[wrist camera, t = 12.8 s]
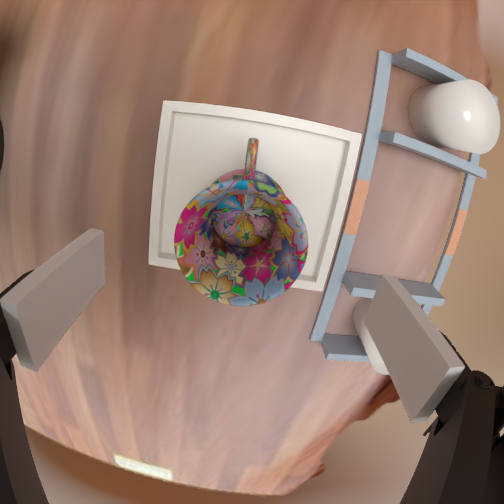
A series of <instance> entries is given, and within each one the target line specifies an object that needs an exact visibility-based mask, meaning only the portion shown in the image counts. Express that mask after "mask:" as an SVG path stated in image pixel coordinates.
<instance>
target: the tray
mask: <svg viewBox="0 0 504 504" xmlns="http://www.w3.org/2000/svg"><path fill="white" fill-rule="evenodd" d="M361 136H362V134H359V133H355V132H352V131H348V130H344V129H341V128H337V127H333V126H329V125H325V124H321V123H316V122H312V121H308V120H303V119H298V118H293V117H289V116H283V115H278V114H273V113H267V112H261V111H255V110H249V109H242V108H235V107H228V106H220V105H211V104H202V103H191V102H179V101H163V108H162V114H161V121H160V128H159V135H158V143H157V151H156V160H155V169H154V180H153V191H152V204H151V219H150V237H149V265H155V266H161V267H166V268H172V269H178V270H181V269H180V267H179V265H178V262H177V259H176V255H175V249H174V234H175V229H176V225H177V222H178V219H179V217H180V215H181V213H182V211H183V210H184V208H185V207H186V205H187V204H188V203H189V202H190V201H191V200H192V199H193V198H194V197H195V196H196V195H197V194H198V193H200V192H201V191H203V190H204V189H206V188H208V187H210V186H211V184H212V183H213V182H214V181H215V180H216V179H217V178H219V177H220V176H222V175H224V174H226V173H228V172H230V171H234V170H239V169H245V161H246V153H247V146H248V140H249V138H256V139H258V140H259V144H258V153H257V161H256V169H255V170H256V171H259V172H262V173H264V174H266V175H268V176H269V177H271V178H272V179H273V180H275V181H276V182H277V183H278V185H279V186H280V187H281V189H282V190H283V192H284V194H285V196H286V197H287V198H288V199H289V200H290V201H291V202H292V203H293V204H294V205H295V206H296V208H297V209H298V211H299V212H300V214H301V216H302V218H303V220H304V223H305V226H306V229H307V234H308V254H307V258H306V262H305V265H304V267H303V269H302V271H301V273H300V275H299V276H298V278H297V279H296V281H295V282H294V283H293V284H292V285H291V286H290V287H293V288H300V289H307V290H314V291H323V288H324V285H325V281H326V278H327V275H328V271H329V268H330V264H331V261H332V257H333V254H334V250H335V246H336V243H337V239H338V235H339V232H340V228H341V224H342V220H343V216H344V212H345V208H346V204H347V200H348V196H349V192H350V188H351V183H352V179H353V174H354V170H355V165H356V161H357V156H358V151H359V146H360V141H361Z"/></svg>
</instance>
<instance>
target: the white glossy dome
mask: <svg viewBox="0 0 504 504" xmlns="http://www.w3.org/2000/svg"><path fill="white" fill-rule="evenodd" d="M408 116H409V121H410V124H411V127H412V129H413V131H414V132H415V134H416V135H417V136H418V137H419V138H420V139H421V140H422V141H423V142H425V143H426V144H429V145H432V146H438V147H444V148H450V149H456V150H461V151H466V152H471V153H476V154H483V153H486V152H488V151H490V150H491V149H492V148H493V147H494V145H495V144H496V142H497V139H498V136H499V132H500V116H499V111H498V107H497V105H496V102H495V100H494V98H493V96H492V95H491V93H490V92H489V91H488V90H487V88H486V87H484V86H483V85H482V84H481V83H479V82H477V81H474V80H461V81H454V82H448V83H441V84H436V85H430V86H425V87H421V88H419V89H418V90H416V91H415V92H414V93H413V95H412V96H411V98H410V101H409V105H408Z"/></svg>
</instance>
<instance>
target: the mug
mask: <svg viewBox="0 0 504 504" xmlns="http://www.w3.org/2000/svg"><path fill="white" fill-rule="evenodd" d="M258 144H259V140H258V139H256V138H249V140H248V146H247V153H246V161H245V169H239V170H234V171H230V172H228V173H226V174H224V175H222V176H220V177H219V178H217V179H216V180H215V181H214V182H213V183H212V184H211V186H210V187H208V188H206V189H204V190H203V191H201V192H200V193H198V194H197V195H196V196H195V197H194V198H193V199H192V200H191V201H190V202H189V203H188V204H187V205H186V207H185V208H184V210H183V211H182V213H181V215H180V217H179V219H178V222H177V225H176V229H175V234H174V249H175V255H176V259H177V262H178V265H179V267H180V269H181V271H182V273H183V274H184V276H185V277H186V279H187V280H188V281H189V282H190V284H191V285H192V286H193V287H194V288H195V289H197V290H198V291H199V292H200V293H202V294H203V295H205V296H207V297H208V298H210V299H212V300H215V301H217V302H220V303H223V304H227V305H233V306H251V305H257V304H261V303H264V302H267V301H270V300H272V299H274V298H276V297H277V296H279V295H281V294H282V293H283V292H285V291H286V290H287V289H288V288H289V287H290V286H291V285H292V284H293V283H294V282H295V281H296V279H297V278H298V276H299V275H300V273H301V271H302V269H303V267H304V265H305V262H306V258H307V254H308V234H307V229H306V226H305V223H304V220H303V218H302V216H301V214H300V212H299V211H298V209H297V208H296V206H295V205H294V204H293V203H292V202H291V201H290V200H289V199H288V198H287V197H286V196H285V194H284V192H283V190H282V189H281V187H280V186H279V185H278V183H277V182H276V181H275V180H273V179H272V178H271V177H269V176H268V175H266V174H264V173H262V172H259V171H256V170H255V169H256V161H257V153H258Z"/></svg>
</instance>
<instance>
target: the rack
mask: <svg viewBox="0 0 504 504" xmlns="http://www.w3.org/2000/svg"><path fill="white" fill-rule="evenodd" d="M391 64H392V65H394V66H397V67H399V68H402V69H404V70H407V71H409V72H412V73H414V74H416V75H418V76H421V77H423V78H425V79H427V80H429V81H432V82H434V83H436V84H441V83H448V82H454V81H461V80H469V79H467V78H465V77H464V76H462V75H460V74H459V73H457V72H455V71H453V70H451V69H449V68H448V67H446V66H444V65H442V64H440V63H438V62H436V61H434V60H432V59H430V58H428V57H426V56H424V55H422V54H419V53H417V52H415V51H413V50H410V49H408V48H406V49H404V50H402V51H399V52H397V53H395V54H393V55H391V54H389V53H386V52H384V51H381V50H379V51H378V55H377V63H376V70H375V77H374V84H373V90H372V96H371V102H370V108H369V114H368V119H367V125H366V130H365V135H364V140H363V145H362V150H361V155H360V159H359V164H358V169H357V173H356V178H355V182H354V186H353V191H352V195H351V199H350V203H349V207H348V211H347V215H346V219H345V223H344V226H343V230H342V234H341V238H340V241H339V245H338V249H337V252H336V256H335V259H334V263H333V266H332V270H331V273H330V276H329V280H328V283H327V286H326V289H325V293H324V296H323V299H322V302H321V305H320V308H319V311H318V314H317V318H316V321H315V324H314V327H313V329H312V332H311V335H310V341H319V342H321V343H322V347H323V350H324V354H325V358H326V360H338V361H358V362H370V360H369V358H368V355H367V353H366V351H365V349H364V346H363V344H362V342H361V339H360V337H359V336H347V335H335V334H324V333H325V330H326V327H327V324H328V322H329V319H330V316H331V313H332V310H333V307H334V304H335V301H336V298H337V295H338V292H339V289H340V286H341V283H342V280H343V282H344V284H345V286H346V288H347V290H348V291H349V293H350V295H351V296H357V297H365V298H373V297H374V295H375V292H376V289H377V287H378V284H379V281H380V278H381V276H376V275H369V274H363V273H356V272H350V271H346V267H347V264H348V261H349V258H350V254H351V251H352V248H353V244H354V241H355V237H356V235H357V231H358V228H359V224H360V220H361V217H362V213H363V209H364V205H365V201H366V197H367V193H368V189H369V185H370V179H371V175H372V170H373V166H374V161H375V157H376V152H377V147H378V142H379V141H381V142H384V143H387V144H390V145H393V146H396V147H399V148H402V149H405V150H408V151H411V152H414V153H417V154H419V155H422V156H425V157H428V158H430V159H433V160H435V161H438V162H440V163H443V164H445V165H448V166H450V167H453V168H455V169H458V170H460V171H462V172H465V173H466V174H465V178H464V182H463V187H462V191H461V195H460V198H459V202H458V206H457V209H456V213H455V216H454V219H453V223H452V226H451V229H450V233H449V236H448V239H447V242H446V245H445V247H444V250H443V253H442V256H441V259H440V261H439V264H438V267H437V270H436V272H435V275H434V277H433V280H432V282H431V284H428V283H422V282H415V281H409V280H402V279H398V280H399V282H400V283H401V284H402V285H403V286H404V288H405V289H406V290H407V291H408V292H409V294H410V295H411V296H412V297H413V298H414V300H415V301H416V302H417V303H418V304H422V306H421V308H422V310H423V311H424V312H425V313H426V315H427V316H428V314H429V312H430V310H431V308H432V306H433V305H435V306H443V303H444V301H445V298H444V297H443V296H442V295H441V294H440V293H439V290H440V287H441V284H442V282H443V280H444V277H445V275H446V272H447V270H448V267H449V264H450V262H451V259H452V256H453V255H454V252H455V249H456V246H457V244H458V240H459V238H460V235H461V231H462V228H463V225H464V222H465V218H466V215H467V209H468V206H469V203H470V198H471V195H472V191H473V187H474V183H475V178H476V176H477V177H480V178H484V179H486V175H487V171H486V170H484V169H482V168H481V167H479V166H478V165H479V160H480V154H476V153H471V152H470V155H469V160H468V161H466V160H464V159H462V158H459V157H457V156H455V155H453V154H450V153H448V152H446V151H443V150H441V149H438V148H436V147H434V146H431V145H429V144H426V143H423V142H421V141H418V140H416V139H413V138H410V137H407V136H405V135H402V134H399V133H396V132H382V131H381V127H382V121H383V116H384V110H385V104H386V98H387V91H388V85H389V78H390V70H391ZM491 95H492V96H493V98H494V100H495V102H496V105H497V103H498V98H497V97H496V96H494V95H493V94H491Z"/></svg>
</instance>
